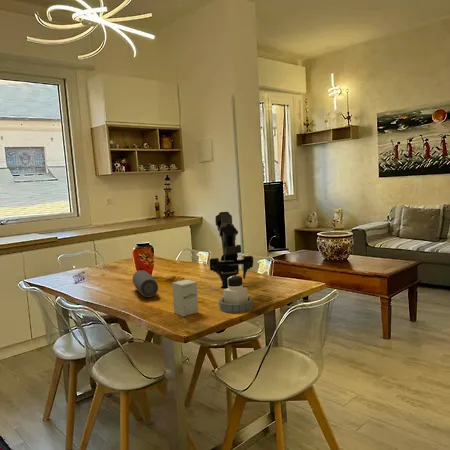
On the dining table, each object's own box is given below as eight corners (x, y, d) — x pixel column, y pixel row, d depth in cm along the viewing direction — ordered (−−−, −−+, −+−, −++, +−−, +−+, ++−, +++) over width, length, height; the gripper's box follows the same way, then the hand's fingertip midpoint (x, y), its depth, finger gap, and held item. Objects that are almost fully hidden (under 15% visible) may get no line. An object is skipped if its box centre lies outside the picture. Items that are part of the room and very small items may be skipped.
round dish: (213, 311, 172) (213, 303, 171) (227, 301, 184) (227, 294, 184) (245, 314, 166) (245, 305, 166) (257, 303, 178) (257, 296, 178)
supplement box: (183, 317, 167) (180, 285, 166) (173, 312, 173) (171, 282, 172) (199, 312, 171) (197, 281, 170) (189, 308, 177) (187, 278, 176)
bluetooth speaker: (132, 290, 214) (130, 270, 213) (150, 287, 217) (149, 268, 216) (139, 301, 193) (137, 279, 192) (160, 298, 196) (158, 276, 195)
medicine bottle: (248, 304, 176) (247, 275, 175) (238, 309, 171) (236, 279, 169) (234, 302, 181) (233, 274, 179) (224, 306, 175) (222, 277, 174)
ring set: (83, 288, 232) (74, 269, 231) (72, 292, 239) (63, 273, 238) (117, 269, 251) (109, 251, 250) (106, 273, 259) (97, 256, 257)
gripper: (208, 240, 183) (210, 271, 174) (251, 237, 185) (256, 267, 175) (208, 254, 192) (211, 285, 183) (250, 252, 193) (254, 282, 184)
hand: (233, 279), depth 181 cm, fingers open, 9 cm apart
